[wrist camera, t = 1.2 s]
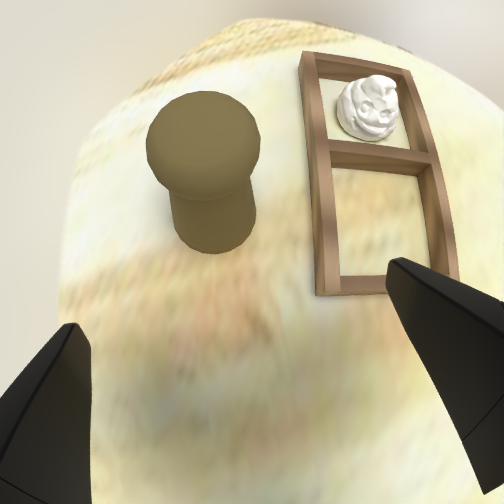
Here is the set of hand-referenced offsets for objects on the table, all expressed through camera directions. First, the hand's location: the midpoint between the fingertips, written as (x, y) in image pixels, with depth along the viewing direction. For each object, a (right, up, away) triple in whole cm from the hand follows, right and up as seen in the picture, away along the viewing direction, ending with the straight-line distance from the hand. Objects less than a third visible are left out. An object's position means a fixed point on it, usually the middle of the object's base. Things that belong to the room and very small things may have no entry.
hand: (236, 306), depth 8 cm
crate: (+10, +9, +16) cm, 21 cm away
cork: (-2, +4, +15) cm, 15 cm away
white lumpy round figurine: (+10, +13, +18) cm, 24 cm away
